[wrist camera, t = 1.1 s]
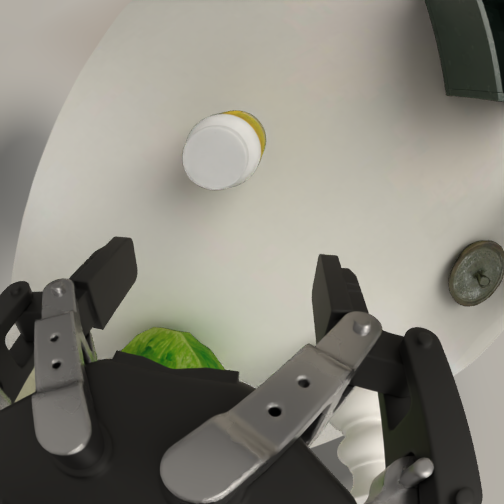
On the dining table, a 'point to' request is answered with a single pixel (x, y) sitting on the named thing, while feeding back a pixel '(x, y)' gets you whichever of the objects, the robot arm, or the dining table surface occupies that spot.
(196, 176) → the pill bottle
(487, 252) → the lid
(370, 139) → the dining table surface
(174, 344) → the lettuce
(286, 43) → the dining table surface
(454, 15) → the open box
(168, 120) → the dining table surface
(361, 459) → the vase
